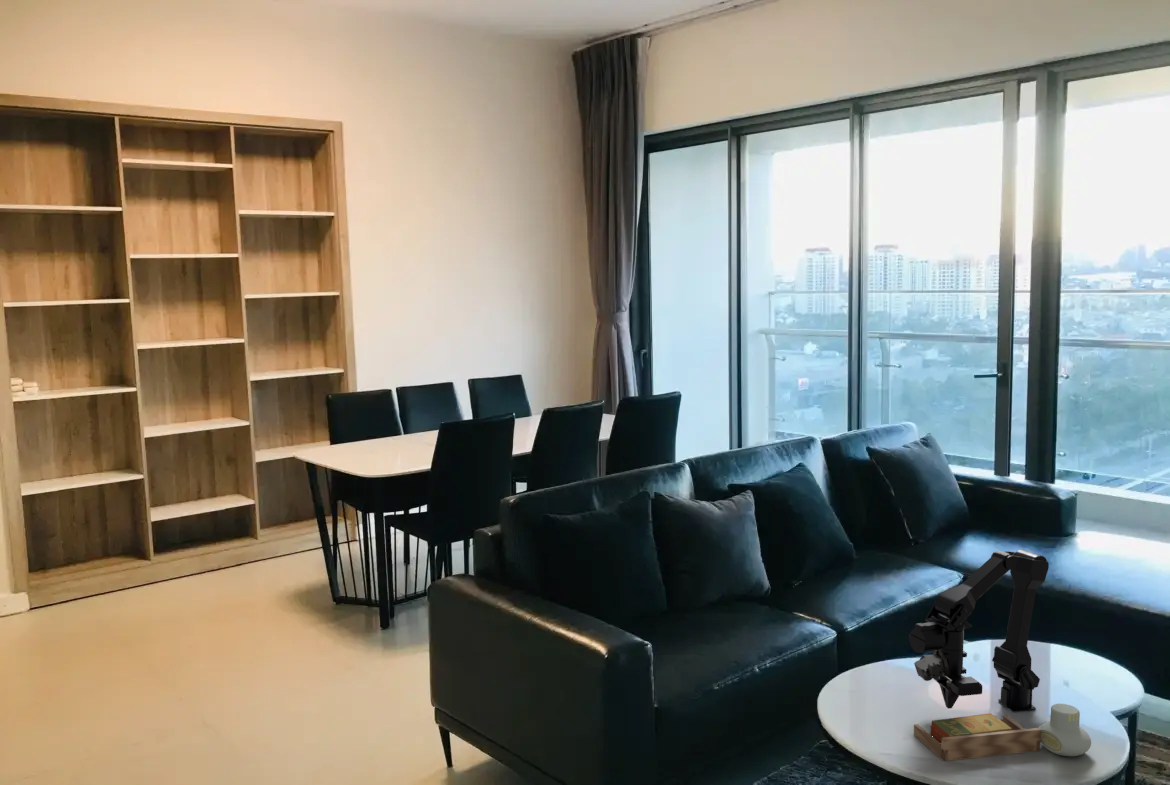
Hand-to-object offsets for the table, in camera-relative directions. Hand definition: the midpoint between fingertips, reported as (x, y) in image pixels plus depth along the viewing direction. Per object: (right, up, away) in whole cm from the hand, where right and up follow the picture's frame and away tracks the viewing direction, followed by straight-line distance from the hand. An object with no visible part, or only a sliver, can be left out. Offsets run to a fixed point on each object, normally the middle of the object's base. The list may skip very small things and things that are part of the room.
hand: (948, 707), depth 233 cm
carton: (+2, -5, -9) cm, 11 cm away
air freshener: (+20, -5, -15) cm, 26 cm away
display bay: (+2, -4, -11) cm, 12 cm away
